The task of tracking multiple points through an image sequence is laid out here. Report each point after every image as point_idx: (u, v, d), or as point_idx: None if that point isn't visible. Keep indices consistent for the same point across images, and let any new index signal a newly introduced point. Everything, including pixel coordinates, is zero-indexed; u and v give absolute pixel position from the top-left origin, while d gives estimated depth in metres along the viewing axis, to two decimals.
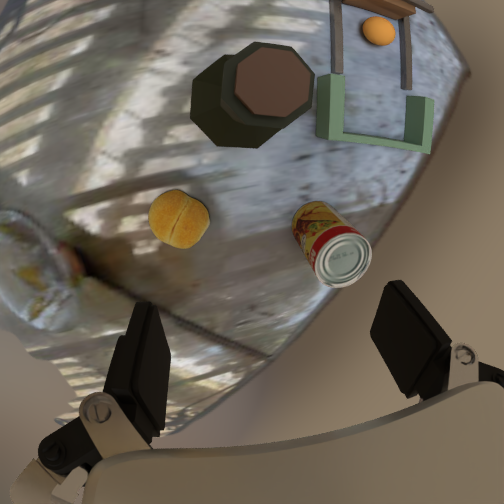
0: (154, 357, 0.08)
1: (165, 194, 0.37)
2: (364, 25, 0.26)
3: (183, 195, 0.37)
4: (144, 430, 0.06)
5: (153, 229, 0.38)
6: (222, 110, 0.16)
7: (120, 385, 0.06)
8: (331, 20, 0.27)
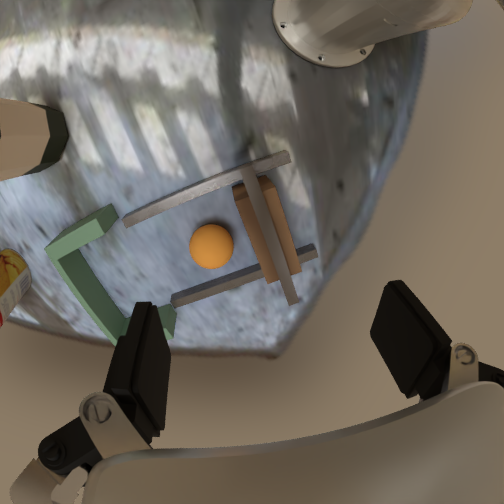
0: (154, 357, 0.08)
1: None
2: (204, 226, 0.30)
3: None
4: (144, 430, 0.06)
5: None
6: None
7: (120, 385, 0.06)
8: (191, 185, 0.30)
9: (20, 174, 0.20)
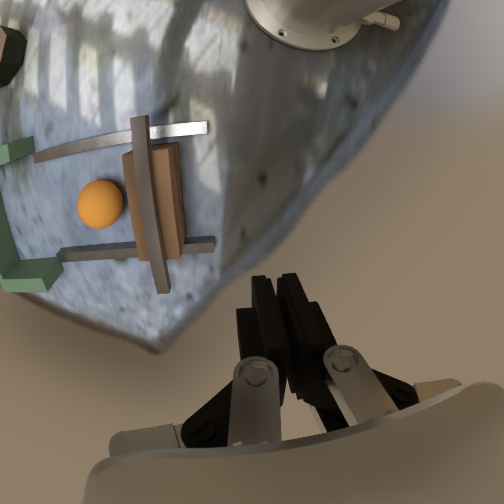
0: None
1: None
2: (98, 180, 0.24)
3: None
4: None
5: None
6: None
7: (276, 345, 0.07)
8: None
9: None
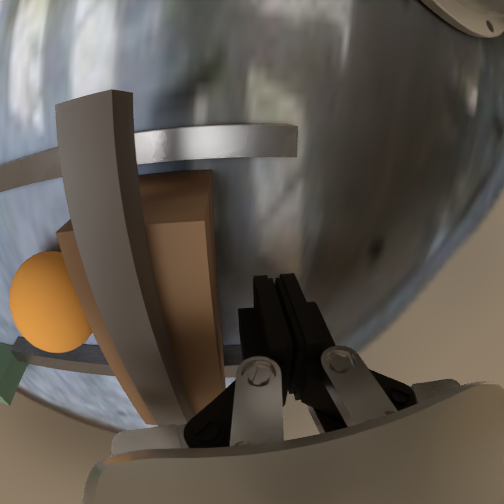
0: None
1: None
2: (41, 257, 0.10)
3: None
4: (286, 390, 0.08)
5: None
6: None
7: (278, 345, 0.07)
8: (45, 151, 0.09)
9: None
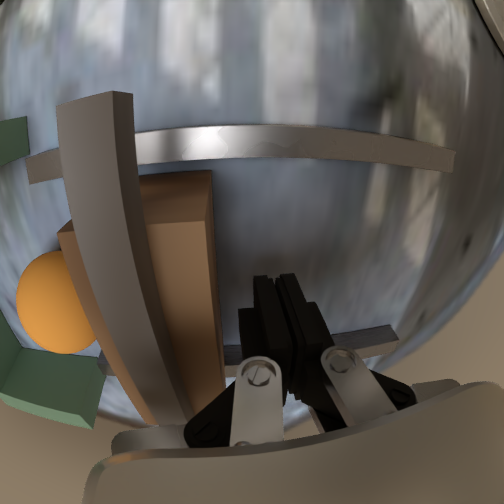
0: None
1: None
2: (39, 260, 0.09)
3: None
4: (286, 390, 0.08)
5: None
6: None
7: (278, 345, 0.07)
8: (227, 124, 0.10)
9: None
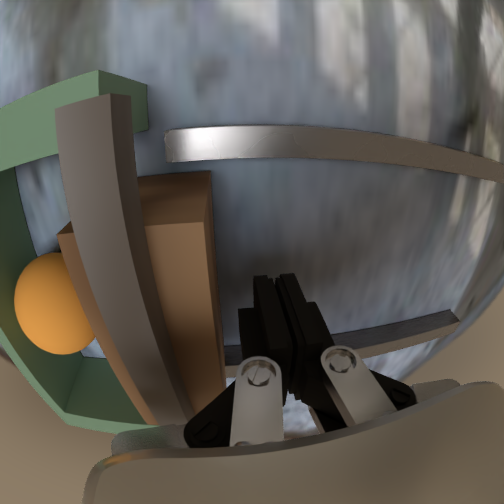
0: None
1: None
2: (46, 258, 0.10)
3: None
4: (286, 390, 0.08)
5: None
6: None
7: (278, 345, 0.07)
8: (377, 133, 0.11)
9: None
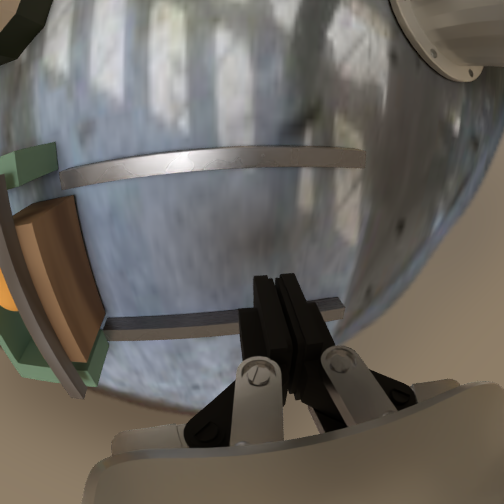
0: None
1: None
2: None
3: None
4: (286, 390, 0.08)
5: None
6: None
7: (278, 345, 0.07)
8: (194, 149, 0.16)
9: None
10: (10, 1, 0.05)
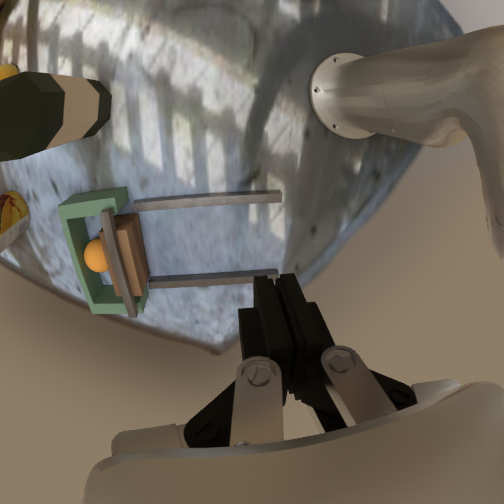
0: None
1: (14, 73, 0.21)
2: (97, 239, 0.35)
3: None
4: (286, 390, 0.08)
5: None
6: None
7: (278, 345, 0.07)
8: (198, 195, 0.36)
9: None
10: (94, 114, 0.25)
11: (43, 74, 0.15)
